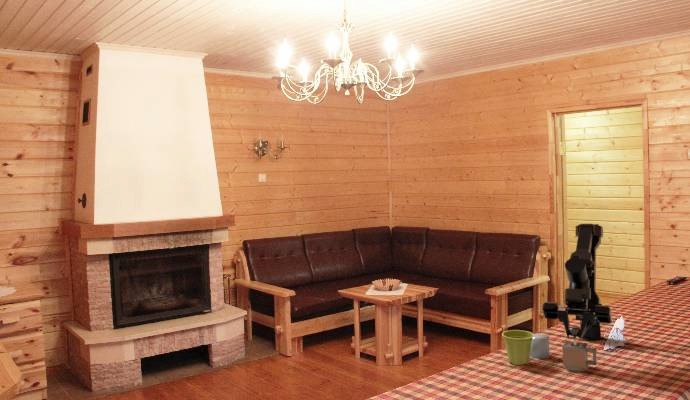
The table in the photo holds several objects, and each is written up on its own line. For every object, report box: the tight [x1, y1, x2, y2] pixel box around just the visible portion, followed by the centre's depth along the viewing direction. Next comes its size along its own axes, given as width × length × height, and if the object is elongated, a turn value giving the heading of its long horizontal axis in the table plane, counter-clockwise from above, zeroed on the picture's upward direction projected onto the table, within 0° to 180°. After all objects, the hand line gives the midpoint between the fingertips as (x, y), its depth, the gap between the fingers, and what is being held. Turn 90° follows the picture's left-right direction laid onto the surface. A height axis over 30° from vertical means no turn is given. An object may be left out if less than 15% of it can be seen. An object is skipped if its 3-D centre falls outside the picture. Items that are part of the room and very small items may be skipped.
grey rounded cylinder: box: [530, 333, 551, 360], centre depth 185 cm, size 6×6×6 cm
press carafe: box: [561, 340, 598, 373], centre depth 171 cm, size 7×9×7 cm
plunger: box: [569, 326, 580, 346], centre depth 172 cm, size 3×3×9 cm
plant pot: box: [501, 329, 535, 366], centre depth 180 cm, size 9×9×9 cm
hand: (574, 337), depth 170 cm, fingers closed on plunger, 3 cm apart
